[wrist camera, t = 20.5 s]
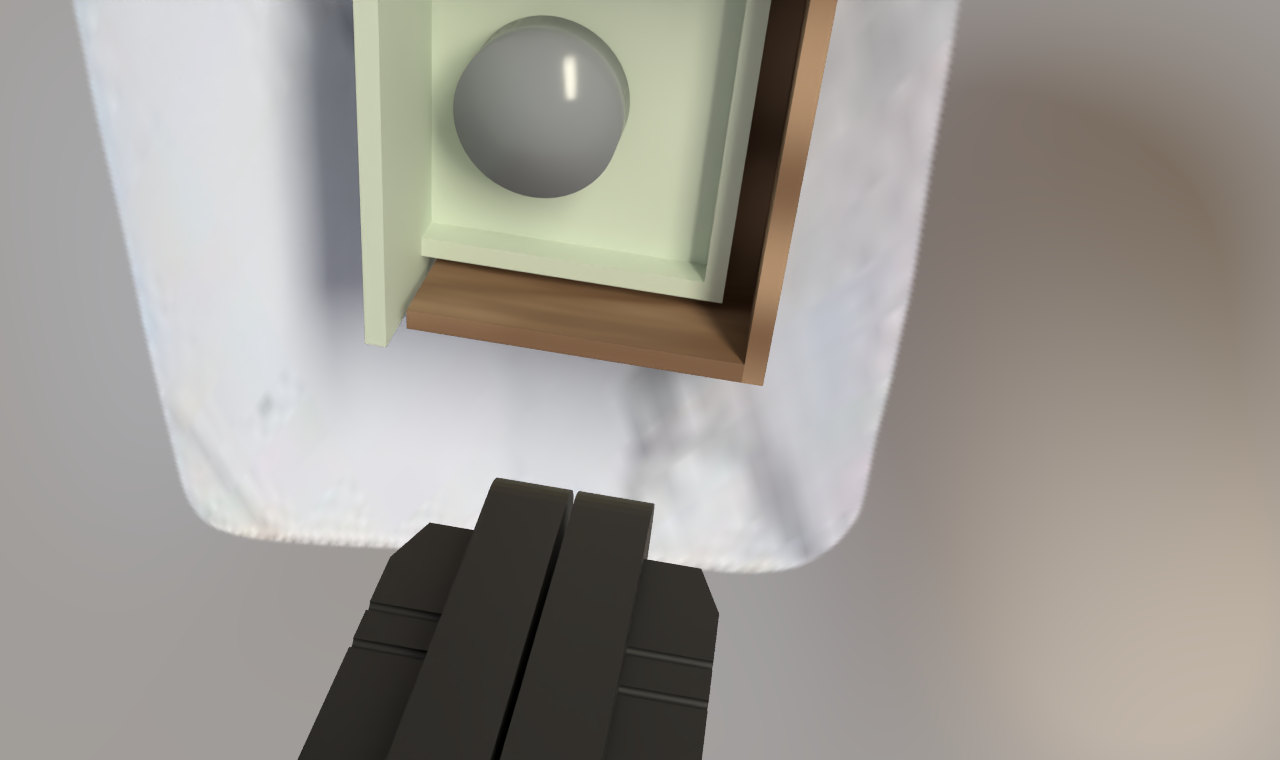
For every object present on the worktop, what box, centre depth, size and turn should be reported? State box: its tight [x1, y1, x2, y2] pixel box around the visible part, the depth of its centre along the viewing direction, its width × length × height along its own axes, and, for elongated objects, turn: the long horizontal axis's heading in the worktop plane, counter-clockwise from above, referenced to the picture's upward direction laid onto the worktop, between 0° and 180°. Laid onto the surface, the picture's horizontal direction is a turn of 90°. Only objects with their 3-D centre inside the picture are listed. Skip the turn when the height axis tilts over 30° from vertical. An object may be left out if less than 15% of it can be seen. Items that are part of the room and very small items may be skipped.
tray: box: [353, 0, 771, 347], centre depth 42 cm, size 17×13×7 cm
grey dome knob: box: [453, 15, 630, 198], centre depth 44 cm, size 6×6×2 cm
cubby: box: [407, 0, 837, 386], centre depth 43 cm, size 17×14×6 cm
